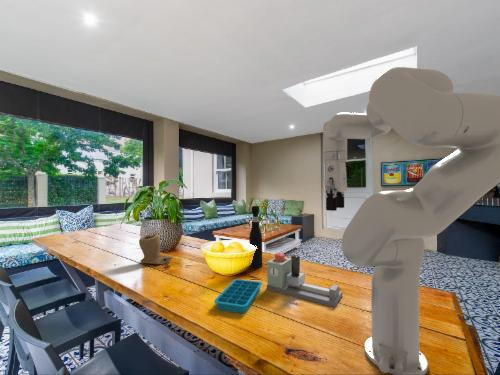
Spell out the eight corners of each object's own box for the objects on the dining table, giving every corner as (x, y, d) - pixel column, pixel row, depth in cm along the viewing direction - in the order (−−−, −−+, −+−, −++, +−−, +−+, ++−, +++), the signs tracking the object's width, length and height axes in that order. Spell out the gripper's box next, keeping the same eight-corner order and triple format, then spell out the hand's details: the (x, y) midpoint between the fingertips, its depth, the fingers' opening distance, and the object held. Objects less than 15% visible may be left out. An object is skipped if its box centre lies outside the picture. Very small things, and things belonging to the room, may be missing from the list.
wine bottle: (261, 268, 118) (260, 206, 117) (248, 267, 119) (247, 206, 118) (263, 264, 124) (262, 205, 123) (251, 263, 125) (250, 205, 125)
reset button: (282, 272, 94) (282, 256, 94) (273, 270, 96) (272, 255, 96) (286, 269, 97) (286, 254, 97) (277, 267, 100) (277, 252, 100)
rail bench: (334, 307, 80) (334, 275, 80) (266, 289, 94) (266, 262, 94) (342, 295, 88) (342, 266, 88) (278, 280, 103) (278, 255, 103)
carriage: (298, 289, 89) (298, 259, 89) (286, 286, 92) (286, 257, 92) (304, 283, 94) (304, 255, 94) (293, 281, 97) (292, 253, 97)
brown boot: (134, 265, 125) (133, 236, 125) (151, 258, 136) (151, 231, 136) (157, 268, 120) (156, 238, 119) (173, 261, 131) (172, 233, 130)
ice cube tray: (262, 289, 95) (262, 282, 95) (246, 316, 76) (246, 306, 76) (235, 286, 98) (235, 278, 98) (212, 311, 79) (212, 301, 79)
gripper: (340, 154, 72) (340, 212, 72) (352, 159, 86) (353, 207, 86) (315, 156, 76) (315, 211, 76) (331, 160, 90) (331, 206, 90)
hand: (335, 209), depth 81 cm, fingers open, 9 cm apart
